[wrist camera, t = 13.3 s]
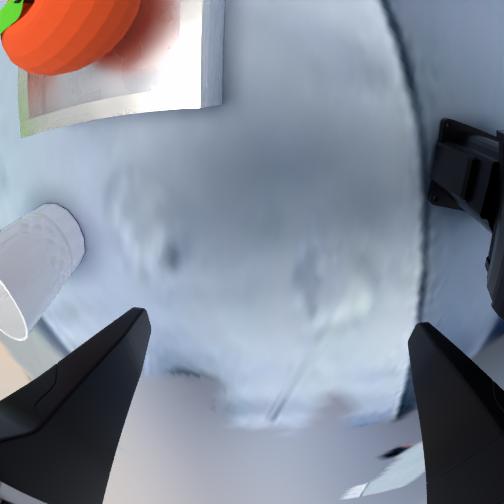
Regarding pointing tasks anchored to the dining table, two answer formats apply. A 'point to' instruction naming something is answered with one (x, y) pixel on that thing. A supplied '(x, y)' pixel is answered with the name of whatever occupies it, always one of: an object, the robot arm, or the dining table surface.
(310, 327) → the dining table surface
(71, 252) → the white cup
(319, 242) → the dining table surface
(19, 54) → the clementine
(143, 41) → the tray
